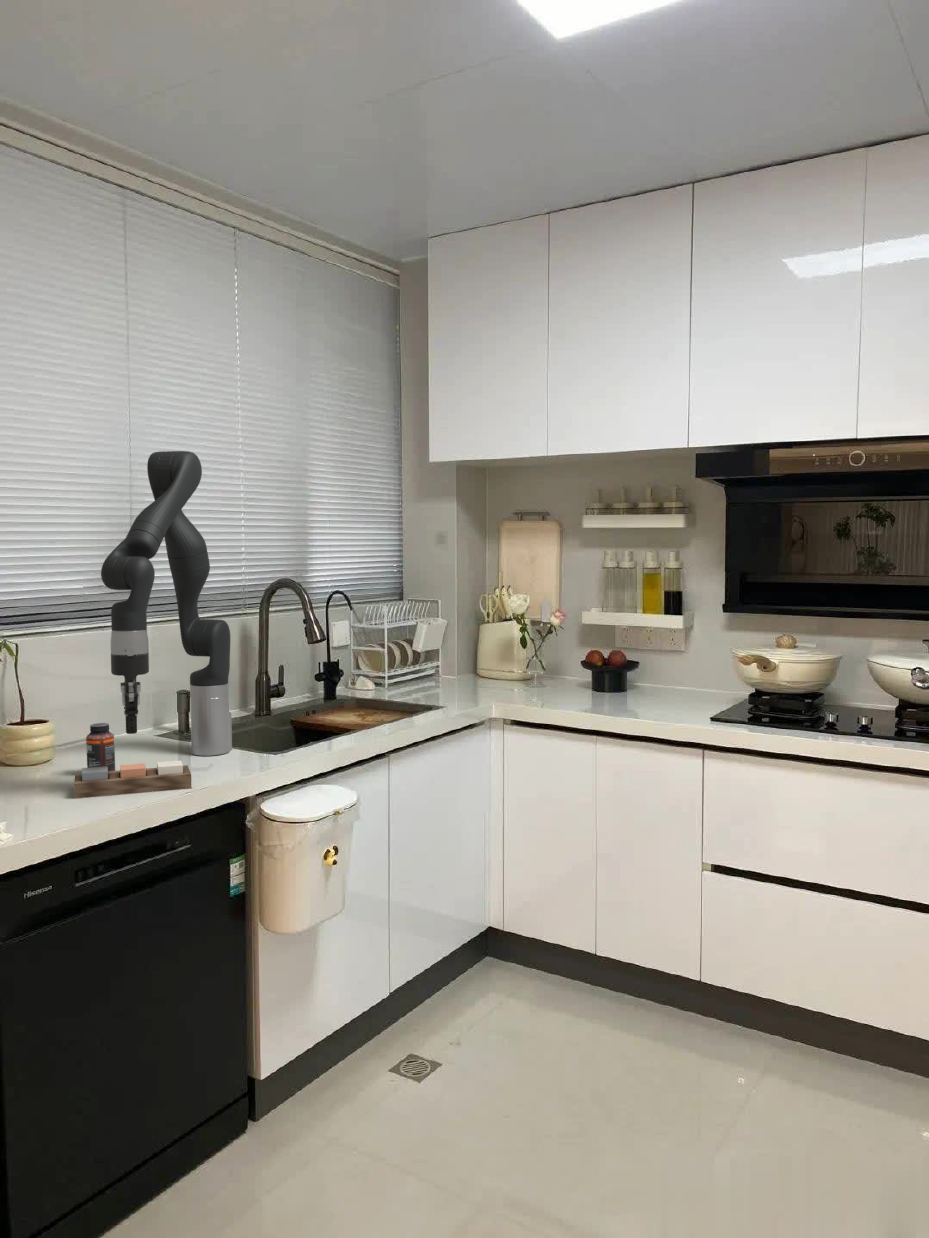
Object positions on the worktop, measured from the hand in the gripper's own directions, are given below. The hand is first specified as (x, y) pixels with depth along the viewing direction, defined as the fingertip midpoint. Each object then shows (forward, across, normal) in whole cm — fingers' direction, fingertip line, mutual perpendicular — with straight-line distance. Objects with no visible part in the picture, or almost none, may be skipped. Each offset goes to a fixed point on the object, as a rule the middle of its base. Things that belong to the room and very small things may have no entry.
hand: (131, 733), depth 200 cm
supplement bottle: (+12, -16, -6) cm, 21 cm away
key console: (+12, 0, 0) cm, 12 cm away
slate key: (+9, 0, -7) cm, 12 cm away
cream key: (+9, 0, +8) cm, 12 cm away
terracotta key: (+9, 0, 0) cm, 9 cm away
